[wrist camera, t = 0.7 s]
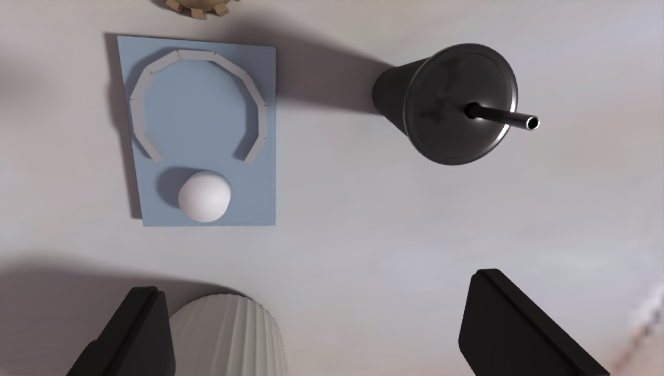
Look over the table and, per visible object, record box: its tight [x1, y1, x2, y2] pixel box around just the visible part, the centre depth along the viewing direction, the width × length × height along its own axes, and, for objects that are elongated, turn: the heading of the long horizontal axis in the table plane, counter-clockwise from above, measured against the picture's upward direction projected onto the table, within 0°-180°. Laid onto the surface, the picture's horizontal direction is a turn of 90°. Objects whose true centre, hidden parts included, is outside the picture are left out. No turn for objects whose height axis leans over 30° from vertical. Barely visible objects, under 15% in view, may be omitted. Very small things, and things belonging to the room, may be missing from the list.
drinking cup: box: [372, 43, 539, 166], centre depth 25 cm, size 8×8×20 cm
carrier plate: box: [117, 36, 276, 227], centre depth 31 cm, size 18×13×4 cm
